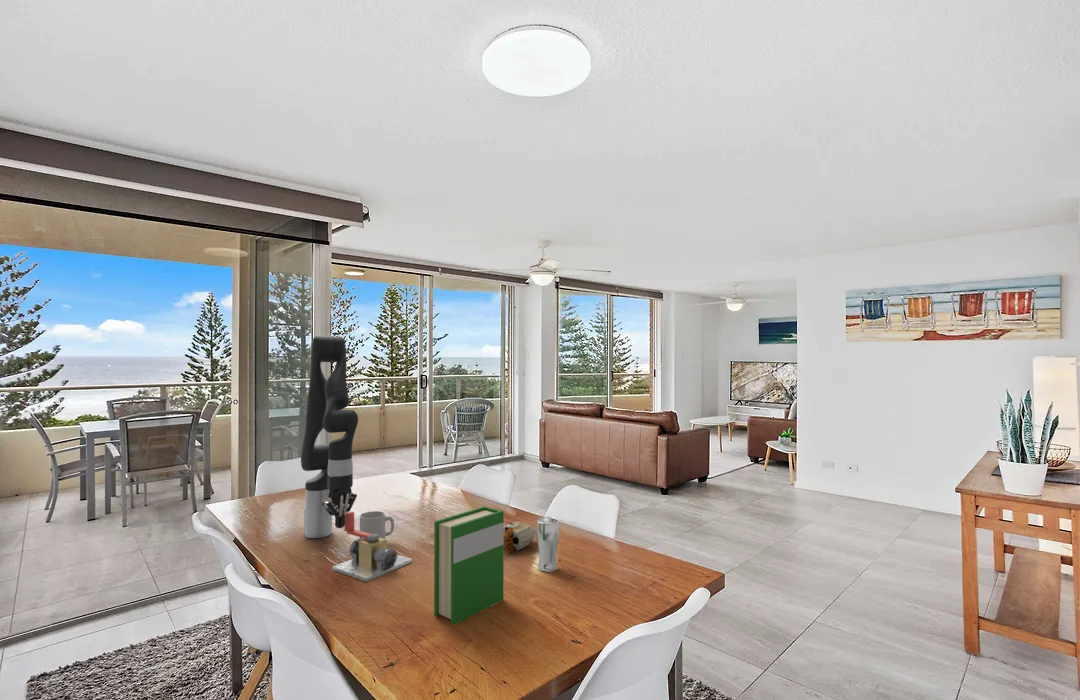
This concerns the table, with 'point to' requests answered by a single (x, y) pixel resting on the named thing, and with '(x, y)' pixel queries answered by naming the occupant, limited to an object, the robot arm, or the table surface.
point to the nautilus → (518, 535)
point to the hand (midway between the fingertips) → (340, 527)
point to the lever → (350, 530)
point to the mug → (375, 523)
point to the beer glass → (547, 543)
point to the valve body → (371, 560)
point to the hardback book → (468, 562)
